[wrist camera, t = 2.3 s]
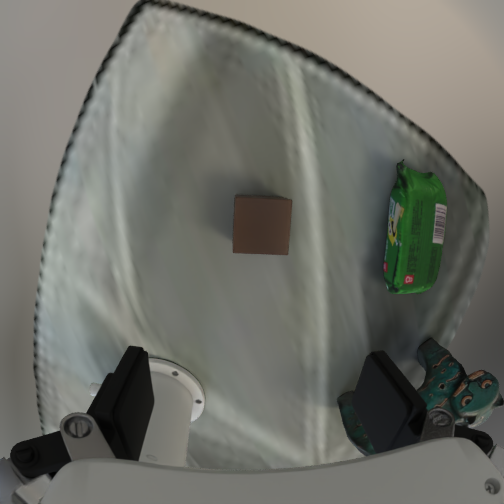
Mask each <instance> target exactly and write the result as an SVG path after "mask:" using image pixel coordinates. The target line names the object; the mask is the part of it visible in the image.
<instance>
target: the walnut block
mask: <svg viewBox="0 0 504 504" xmlns="http://www.w3.org/2000/svg"><path fill="white" fill-rule="evenodd" d="M291 211H292V200H290V199H287V198H284V197H274V196H256V195H235V198H234V219H233V253H244V254H272V255H288V249H289V237H290V224H291Z"/></svg>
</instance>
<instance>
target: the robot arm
mask: <svg viewBox="0 0 504 504" xmlns="http://www.w3.org/2000/svg"><path fill="white" fill-rule="evenodd" d="M90 394H91V395H92V396H95V398H94V400H93V402H92V404H91V405H90V407H89V409H88V411H87V413H80V412H77V413H71V414H69V415H67V416H65V417H64V418H63V419H62V421H61V423H60V431H57V432H54V433H50V434H47V435H44V436H40V437H37V438H33V439H30V440H26V441H22V442H20V443H17V444H16V445H15V446H14V447H13V448H12V450H11V453H10V458H8V459H5V458H4V457H3V458H2V459H0V504H504V448H503V447H501V446H499V445H498V444H496V445H495V446H493V440H492V438H491V437H490V436H489V435H488V434H486V433H485V432H482V431H478V430H474V429H471V428H467V427H463V426H460V425H456V424H455V417H454V415H453V414H452V413H451V412H450V411H449V410H447V409H445V408H441V407H434V408H431V409H430V410H429V411H428V410H427V409H426V407H427V404H426V402H425V401H424V400H423V399H422V397H421V396H420V395H419V393H418V392H417V391H416V390H415V388H414V387H413V386H412V385H411V383H410V382H409V381H408V380H407V378H406V377H405V376H404V375H403V373H402V372H401V371H400V370H399V369H398V367H397V366H396V365H395V364H394V362H393V361H392V360H391V359H390V358H389V356H388V355H387V354H386V353H385V352H384V351H373V352H371V353H370V354H369V355H368V356H367V357H366V359H365V363H364V366H363V369H362V372H361V375H360V378H359V381H358V384H357V386H356V389H355V392H354V395H353V397H352V406H353V408H354V410H355V412H356V414H357V416H358V418H359V420H360V422H361V424H362V426H363V428H364V430H365V432H366V434H367V436H368V438H369V441H370V443H371V445H372V447H373V449H374V451H375V453H376V454H375V455H370V456H366V457H361V458H356V459H351V460H346V461H340V462H334V463H328V464H321V465H314V466H305V467H295V468H283V469H264V470H219V469H201V468H189V467H185V463H186V454H187V446H188V438H189V430H190V423H191V422H193V421H194V420H196V419H197V418H198V417H199V416H200V415H201V413H202V411H203V409H204V404H205V395H204V391H203V389H202V387H201V385H200V383H199V382H198V381H197V379H196V378H195V377H194V376H193V375H192V374H191V373H189V372H188V371H187V370H185V369H184V368H182V367H180V366H178V365H176V364H174V363H172V362H168V361H165V360H161V359H156V358H148V353H147V351H144V350H143V348H142V347H136V346H129V347H128V348H127V350H126V352H125V354H124V355H123V357H122V359H121V361H120V363H119V365H118V366H117V368H116V370H115V372H114V373H108V375H107V376H106V378H105V380H104V381H103V383H102V384H97V383H91V385H90Z"/></svg>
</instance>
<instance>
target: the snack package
mask: <svg viewBox="0 0 504 504" xmlns="http://www.w3.org/2000/svg"><path fill="white" fill-rule="evenodd" d="M403 161H404V159H403V160H402V162H400V163H397V181H396V183H395V185H394V187H393V189H392V192H391V196H390V204H389V216H388V229H387V239H386V249H385V258H384V266H383V267H384V278H385V281H386V286H387V289H388V291H389V292H390V293H392V294H407V293H413V292H414V293H416V294H420V293H422V292H424V291H426V290H428V289H429V288H430V287H432V286H433V284H434V283H435V281H436V279H437V275H438V271H439V267H440V261H441V255H442V247H443V241H444V235H445V225H446V217H447V200H446V194H445V190H444V188H443V185H442V183H441V182H440V180H439V179H438V177H437V176H436V175H435V174H434V173H432V172H428V173H419V172H417V171H415V170H412V169H409V168H408V167H406V166H405V165H404V164H403Z"/></svg>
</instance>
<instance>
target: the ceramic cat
mask: <svg viewBox="0 0 504 504" xmlns="http://www.w3.org/2000/svg"><path fill="white" fill-rule="evenodd" d="M418 358H419V363H420V365H421V366H422V367H423V368H424V369H425V371H426V376H425V380H424V383H423V384H422V386H421V387H420V388H419V389H418V390H417V392H418V393H419V395H420V396H421V397H422V399H423V400H424V401H425V402H426V404H427V407H426V409H427V410H428V411H429V410H430V409H431V408H434V407H441V408H445V409H447V410H449V411H450V412H451V413H452V414H453V415H454V417H455V424H456V425H460V426H463V427H467V428H473V427H476V426H478V425H480V424H482V423H483V422H485V421H486V420H487V419H488V417H489V416H490V415H491V413H492V411H493V409H494V408H498V407H501V406H503V404H504V400H503V398H502V396H501V394H500V393H499V383H498V380H497V379H496V378H495V377H494V376H493V375H492V374H490V373H489V372H486V371H484V370H479V371H476V372H474V373H472V374H470V375H468V376H467V375H466V373H465V370H464V368H463V367H462V365H461V364H460V363H459V362H458V361H457V360H456V359H455V358H453V357H452V355H451V353H450V352H449V351H448V350H447V349H445V348H443V347H442V346H441V345H439V344H438V343H437V342H436V341H435V340H434V339H433V338H430V339H429V340H428V341H426V342H425V343H424V344H422V345H421V346H420V347H419V348H418ZM353 395H354V392H353V391H350V392H347V393H345V394H344V395H342V396H341V397H339V398H338V399H337V402H338V405H339V409H340V413H341V417H342V422H343V425H344V428H345V430H346V434H347V437H348V438H349V440H350V441H351V443H352V444H353V445H354V446H355V447H356V448H357V449H358V450H359V451H360V452H361V453H362V454H364V455H365V456H370V455H375V454H376V453H375V451H374V449H373V447H372V445H371V443H370V441H369V438H368V436H367V434H366V432H365V430H364V428H363V426H362V424H361V422H360V420H359V418H358V416H357V414H356V412H355V410H354V408H353V406H352V397H353Z"/></svg>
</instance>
